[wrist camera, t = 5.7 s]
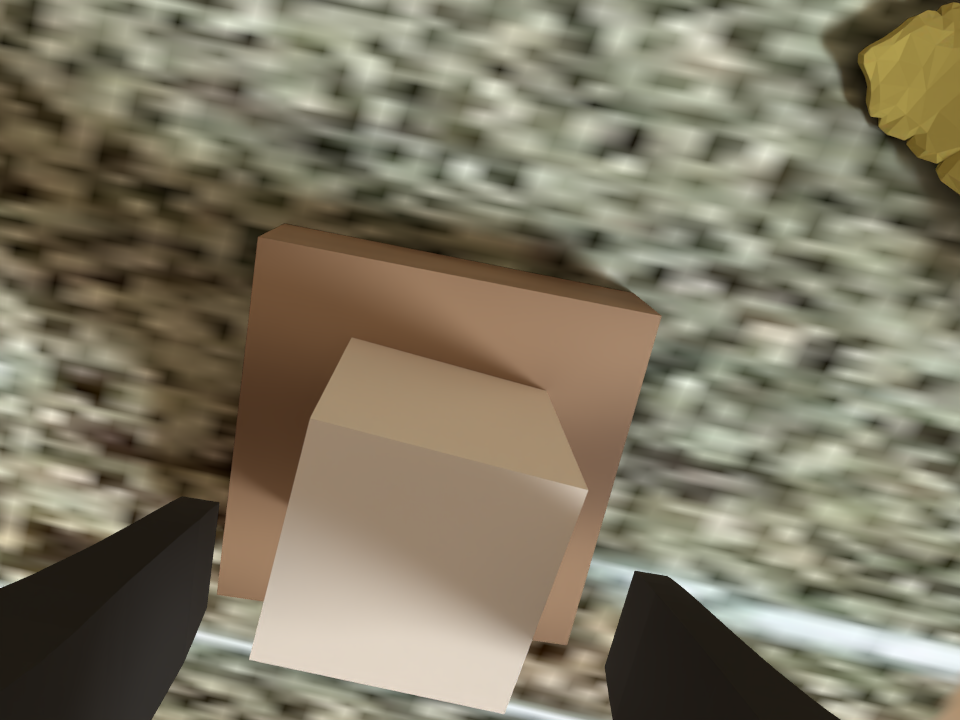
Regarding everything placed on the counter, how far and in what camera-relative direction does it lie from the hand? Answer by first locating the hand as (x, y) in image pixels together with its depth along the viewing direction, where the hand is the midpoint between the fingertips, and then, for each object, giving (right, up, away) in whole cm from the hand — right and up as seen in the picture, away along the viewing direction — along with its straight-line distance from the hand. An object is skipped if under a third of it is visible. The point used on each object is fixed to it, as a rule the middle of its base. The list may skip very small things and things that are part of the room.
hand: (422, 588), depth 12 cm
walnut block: (0, +2, +8) cm, 8 cm away
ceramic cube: (0, +2, +5) cm, 5 cm away
